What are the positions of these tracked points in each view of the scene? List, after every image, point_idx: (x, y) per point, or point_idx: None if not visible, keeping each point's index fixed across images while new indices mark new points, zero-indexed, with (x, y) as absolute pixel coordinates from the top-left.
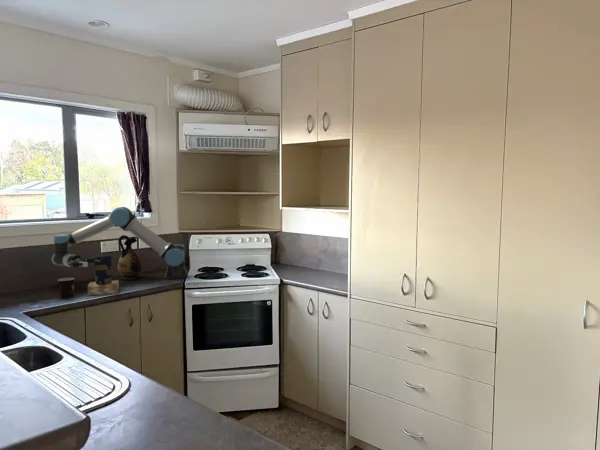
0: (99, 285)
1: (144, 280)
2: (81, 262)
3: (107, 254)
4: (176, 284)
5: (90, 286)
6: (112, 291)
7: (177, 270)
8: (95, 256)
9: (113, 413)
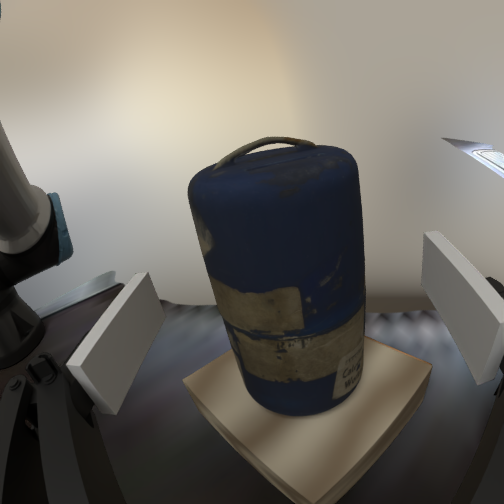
0: (364, 348)
1: None
2: (483, 287)
3: (206, 168)
4: None
5: (416, 360)
6: None
7: (26, 304)
8: (344, 154)
9: (484, 147)
